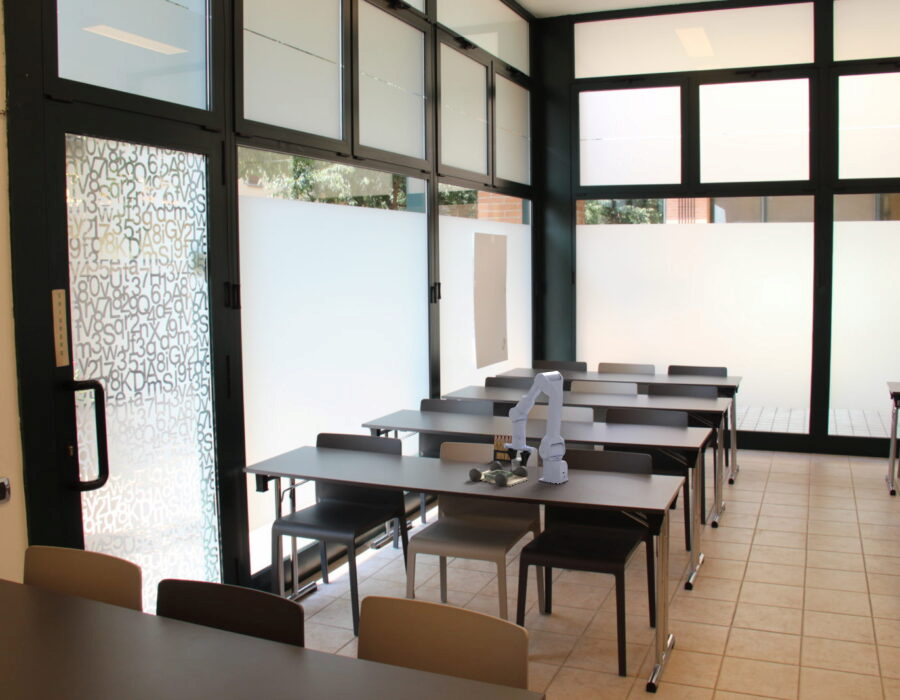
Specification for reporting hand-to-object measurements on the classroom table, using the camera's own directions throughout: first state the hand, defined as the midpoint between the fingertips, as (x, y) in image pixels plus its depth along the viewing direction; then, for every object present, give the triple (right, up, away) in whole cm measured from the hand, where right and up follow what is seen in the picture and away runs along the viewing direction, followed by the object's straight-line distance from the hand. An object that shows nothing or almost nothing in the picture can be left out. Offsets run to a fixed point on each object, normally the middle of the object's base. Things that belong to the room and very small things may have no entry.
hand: (518, 467), depth 361 cm
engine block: (0, -2, 0) cm, 2 cm away
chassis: (-9, -3, -14) cm, 17 cm away
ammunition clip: (-5, 0, +16) cm, 17 cm away
